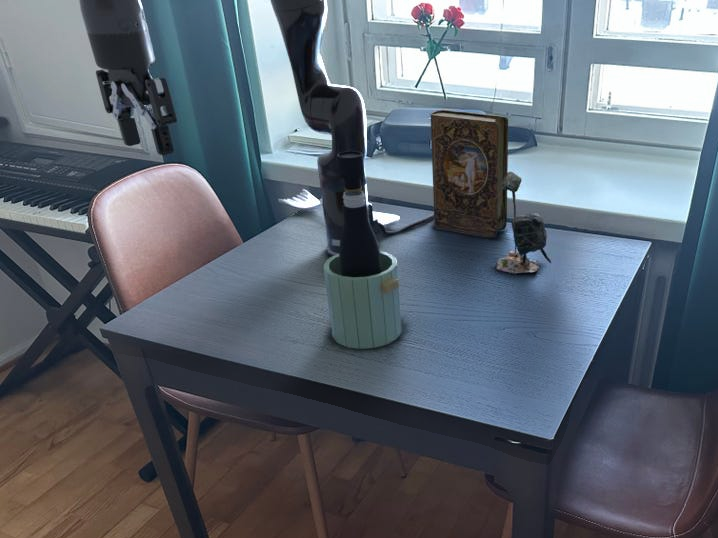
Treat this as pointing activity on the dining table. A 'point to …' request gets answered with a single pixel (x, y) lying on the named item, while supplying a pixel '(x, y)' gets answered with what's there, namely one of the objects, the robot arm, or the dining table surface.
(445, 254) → the dining table surface
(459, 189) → the book
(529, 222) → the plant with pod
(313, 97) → the robot arm
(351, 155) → the wine bottle
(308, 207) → the serving fork
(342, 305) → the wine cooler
